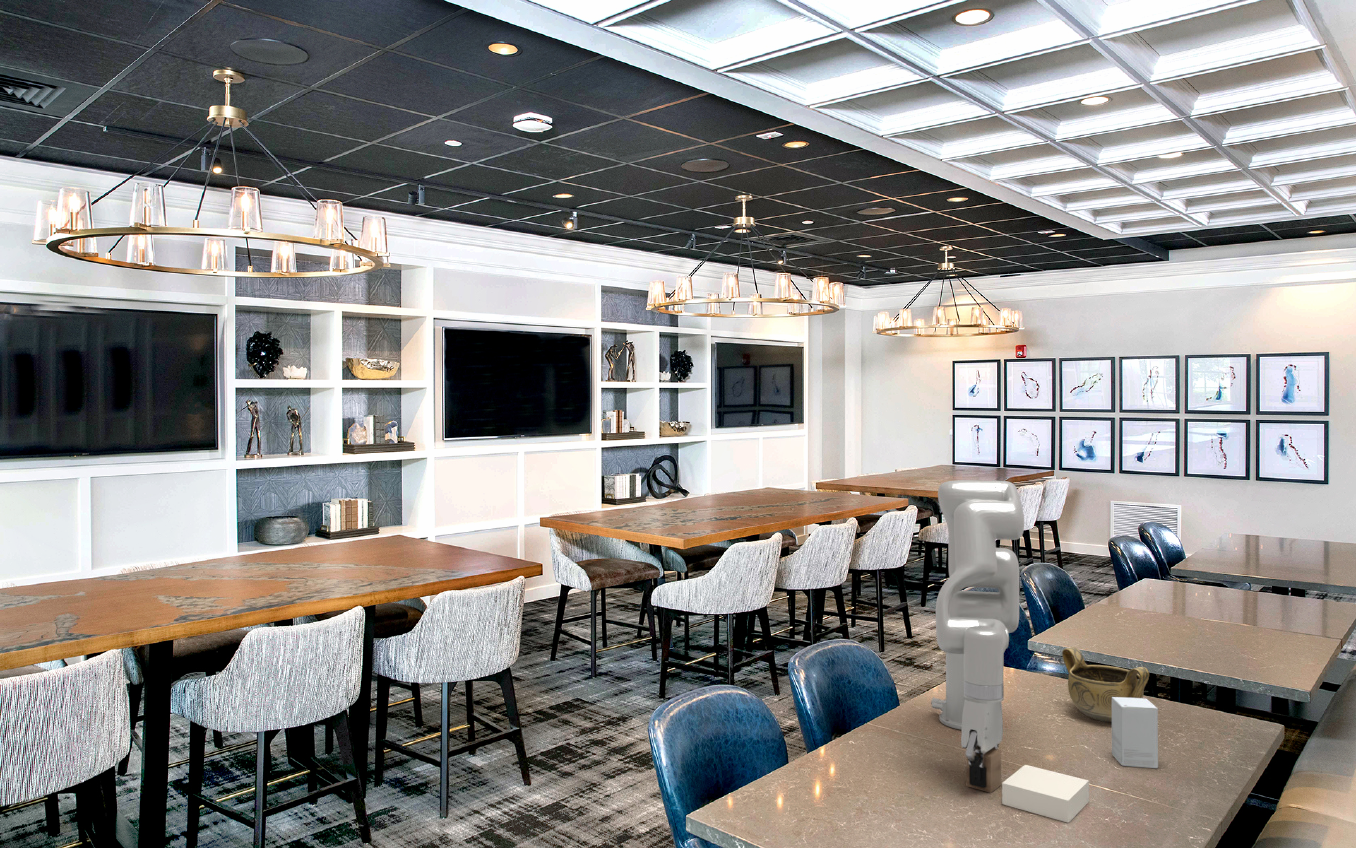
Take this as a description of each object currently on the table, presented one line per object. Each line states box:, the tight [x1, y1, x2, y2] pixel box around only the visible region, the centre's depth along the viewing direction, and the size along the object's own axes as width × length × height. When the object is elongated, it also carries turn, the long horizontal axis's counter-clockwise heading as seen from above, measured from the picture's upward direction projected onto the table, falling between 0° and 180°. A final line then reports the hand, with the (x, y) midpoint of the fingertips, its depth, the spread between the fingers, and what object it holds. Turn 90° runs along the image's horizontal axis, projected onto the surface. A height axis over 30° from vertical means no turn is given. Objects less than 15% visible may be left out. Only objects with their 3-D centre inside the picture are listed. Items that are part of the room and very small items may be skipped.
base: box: [1001, 764, 1090, 824], centre depth 167 cm, size 12×12×4 cm
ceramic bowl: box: [1061, 646, 1150, 723], centre depth 216 cm, size 22×17×15 cm
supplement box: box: [1111, 697, 1159, 769], centre depth 188 cm, size 7×7×13 cm
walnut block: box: [965, 746, 1002, 794], centre depth 175 cm, size 5×5×7 cm
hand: (983, 780), depth 175 cm, fingers closed on walnut block, 5 cm apart
